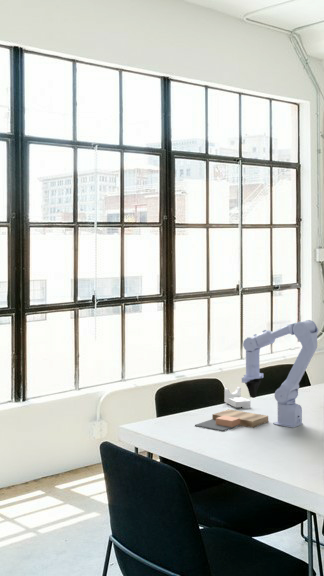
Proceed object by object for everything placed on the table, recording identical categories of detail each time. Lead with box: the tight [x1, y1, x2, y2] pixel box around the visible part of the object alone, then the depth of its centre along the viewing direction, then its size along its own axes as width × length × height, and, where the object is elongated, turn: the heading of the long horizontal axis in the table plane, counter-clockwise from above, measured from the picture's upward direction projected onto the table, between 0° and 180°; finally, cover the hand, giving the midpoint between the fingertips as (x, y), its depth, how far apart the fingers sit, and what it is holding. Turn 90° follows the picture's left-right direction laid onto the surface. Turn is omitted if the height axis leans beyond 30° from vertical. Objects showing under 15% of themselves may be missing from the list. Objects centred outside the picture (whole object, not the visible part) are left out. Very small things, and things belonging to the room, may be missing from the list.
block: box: [216, 415, 241, 428], centre depth 277 cm, size 8×6×2 cm
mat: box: [194, 419, 241, 432], centre depth 277 cm, size 14×12×1 cm
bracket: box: [224, 386, 251, 409], centre depth 313 cm, size 13×7×8 cm, turn 19°
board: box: [211, 408, 269, 428], centre depth 284 cm, size 20×12×2 cm, turn 50°
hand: (252, 397), depth 287 cm, fingers closed
